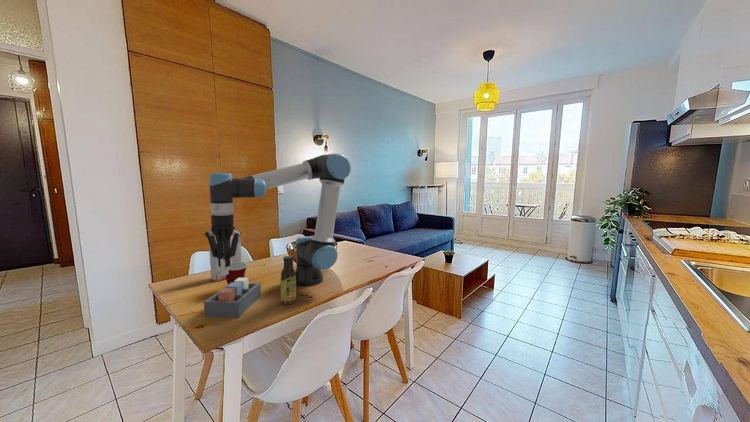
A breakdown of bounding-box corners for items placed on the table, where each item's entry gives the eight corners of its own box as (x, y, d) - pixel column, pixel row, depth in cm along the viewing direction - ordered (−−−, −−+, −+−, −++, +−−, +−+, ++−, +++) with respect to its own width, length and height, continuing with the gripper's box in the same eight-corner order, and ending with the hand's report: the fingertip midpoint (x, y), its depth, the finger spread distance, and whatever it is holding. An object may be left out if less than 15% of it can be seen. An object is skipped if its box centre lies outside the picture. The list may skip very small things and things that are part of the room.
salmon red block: (234, 300, 114) (234, 288, 113) (229, 305, 109) (228, 292, 109) (224, 300, 114) (223, 288, 113) (218, 305, 109) (217, 292, 109)
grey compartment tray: (260, 295, 128) (260, 282, 127) (238, 317, 108) (238, 302, 107) (231, 295, 128) (231, 282, 127) (204, 317, 108) (203, 301, 107)
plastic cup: (238, 294, 129) (237, 269, 127) (218, 292, 131) (216, 267, 129) (253, 286, 139) (252, 262, 138) (234, 284, 141) (233, 260, 140)
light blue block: (242, 294, 120) (241, 282, 119) (237, 298, 115) (236, 286, 115) (232, 294, 120) (231, 282, 119) (226, 298, 115) (226, 286, 115)
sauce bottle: (287, 307, 117) (286, 260, 115) (277, 303, 121) (276, 257, 118) (299, 301, 123) (298, 256, 120) (289, 297, 126) (288, 254, 124)
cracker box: (237, 272, 158) (235, 235, 156) (242, 274, 155) (241, 236, 153) (210, 279, 147) (208, 239, 145) (216, 282, 144) (213, 241, 141)
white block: (248, 288, 126) (248, 277, 125) (244, 292, 121) (243, 281, 121) (239, 288, 126) (238, 277, 125) (234, 292, 122) (233, 281, 121)
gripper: (198, 215, 104) (202, 277, 107) (234, 215, 104) (236, 278, 106) (211, 212, 111) (213, 271, 114) (244, 213, 111) (246, 271, 114)
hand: (224, 274), depth 110 cm, fingers closed
